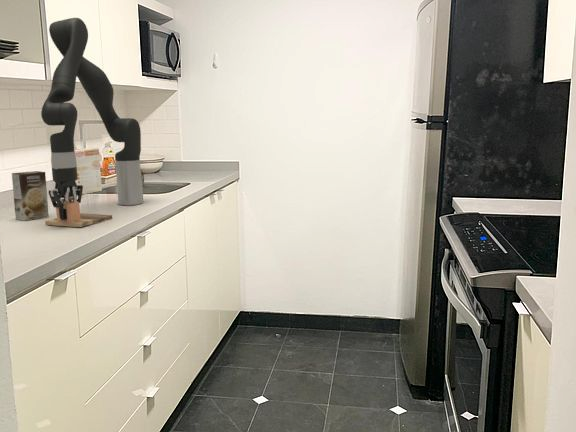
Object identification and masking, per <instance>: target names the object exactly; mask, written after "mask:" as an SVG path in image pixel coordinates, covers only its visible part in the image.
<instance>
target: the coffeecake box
mask: <svg viewBox="0 0 576 432" xmlns="http://www.w3.org/2000/svg"><path fill="white" fill-rule="evenodd" d="M74 152H75V156H76V165H77V177H78V179H77V180H76V181H75V182H76V184H77V185H82V186H83V191H82V195H85V194H86V195H87V194H92V193H97V192H103V185H102V174H101V163H100V159H101V158H100V150H99V148H97V147H95V148H94V147H87V148H84V147H83V148H77V149H75V148H74Z"/></svg>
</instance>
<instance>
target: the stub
mask: <svg viewBox="0 0 576 432" xmlns="http://www.w3.org/2000/svg"><path fill="white" fill-rule="evenodd" d="M72 201H73V200H72ZM72 201H67V202H66V208H65V209H66V210H67V220H61V219H60V216H59V209H58V208H55V212H56V218H55V217H54V218H52V219H49V220H45V221H44V222H45V223H44V224H45V225H46V226H56V227H57V226H58V227H59V226H60V227H70V228H72V227H74V228H82V227H86V226H89V225H94V224H93V220H85V219H80V213H81V208H80V203H79V202H72ZM56 204H57V202H56ZM61 204H63V201H62V202H61Z"/></svg>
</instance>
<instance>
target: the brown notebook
mask: <svg viewBox="0 0 576 432" xmlns="http://www.w3.org/2000/svg"><path fill="white" fill-rule="evenodd" d="M80 219H85V220H93V224H92V225H96V224H99V223H102V221H103V222H105V220H106V221H110V220H113V215H112V214H98V213H97V214H96V213H85V212H84V213H83V212H82V213H81V212H80Z"/></svg>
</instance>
